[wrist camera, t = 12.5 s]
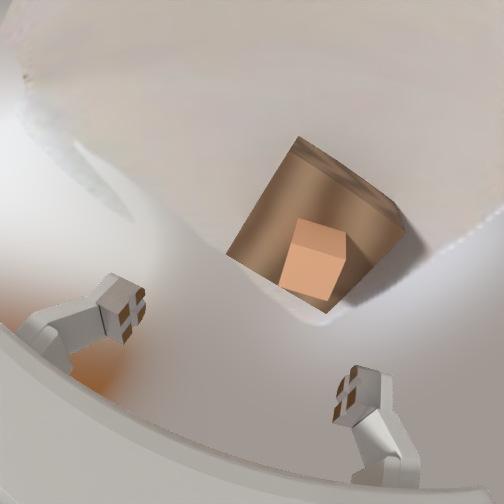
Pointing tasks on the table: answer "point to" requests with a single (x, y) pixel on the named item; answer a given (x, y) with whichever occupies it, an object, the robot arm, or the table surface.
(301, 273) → the cube
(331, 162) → the walnut box
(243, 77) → the table surface
